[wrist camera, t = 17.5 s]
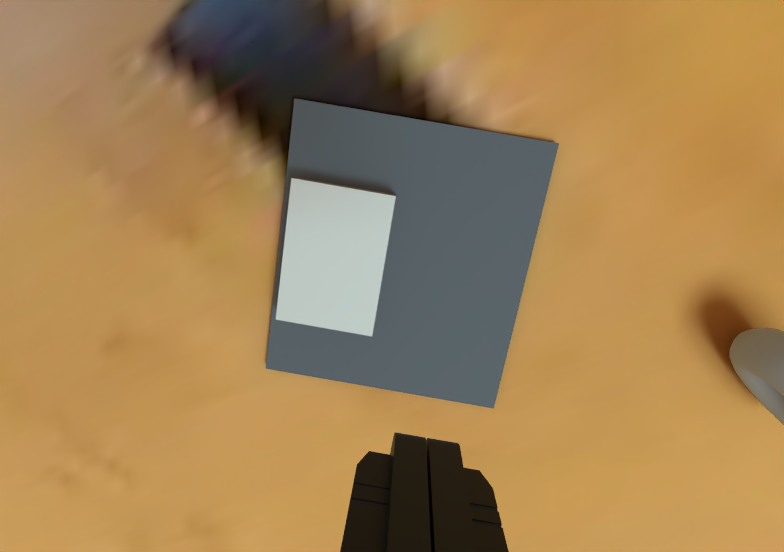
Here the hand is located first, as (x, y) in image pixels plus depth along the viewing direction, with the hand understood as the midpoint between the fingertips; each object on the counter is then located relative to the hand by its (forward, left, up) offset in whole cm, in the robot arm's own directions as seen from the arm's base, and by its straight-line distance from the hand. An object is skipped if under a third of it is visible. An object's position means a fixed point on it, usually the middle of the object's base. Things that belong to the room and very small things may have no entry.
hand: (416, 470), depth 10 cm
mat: (0, -1, -23) cm, 23 cm away
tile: (0, -2, -22) cm, 22 cm away
